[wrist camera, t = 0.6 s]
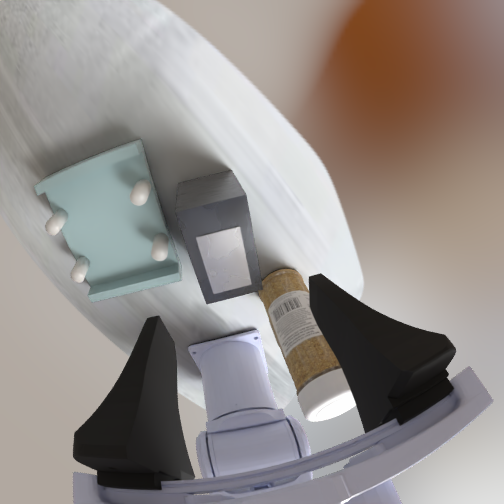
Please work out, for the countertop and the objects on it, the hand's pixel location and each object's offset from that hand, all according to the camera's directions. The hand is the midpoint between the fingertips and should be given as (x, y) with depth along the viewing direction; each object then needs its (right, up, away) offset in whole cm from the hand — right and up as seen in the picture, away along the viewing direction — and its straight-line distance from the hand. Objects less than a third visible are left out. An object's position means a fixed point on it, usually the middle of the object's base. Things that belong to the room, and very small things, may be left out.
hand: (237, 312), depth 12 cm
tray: (-10, +5, +7) cm, 13 cm away
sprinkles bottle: (+3, 0, +14) cm, 14 cm away
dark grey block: (-2, +5, +9) cm, 10 cm away
